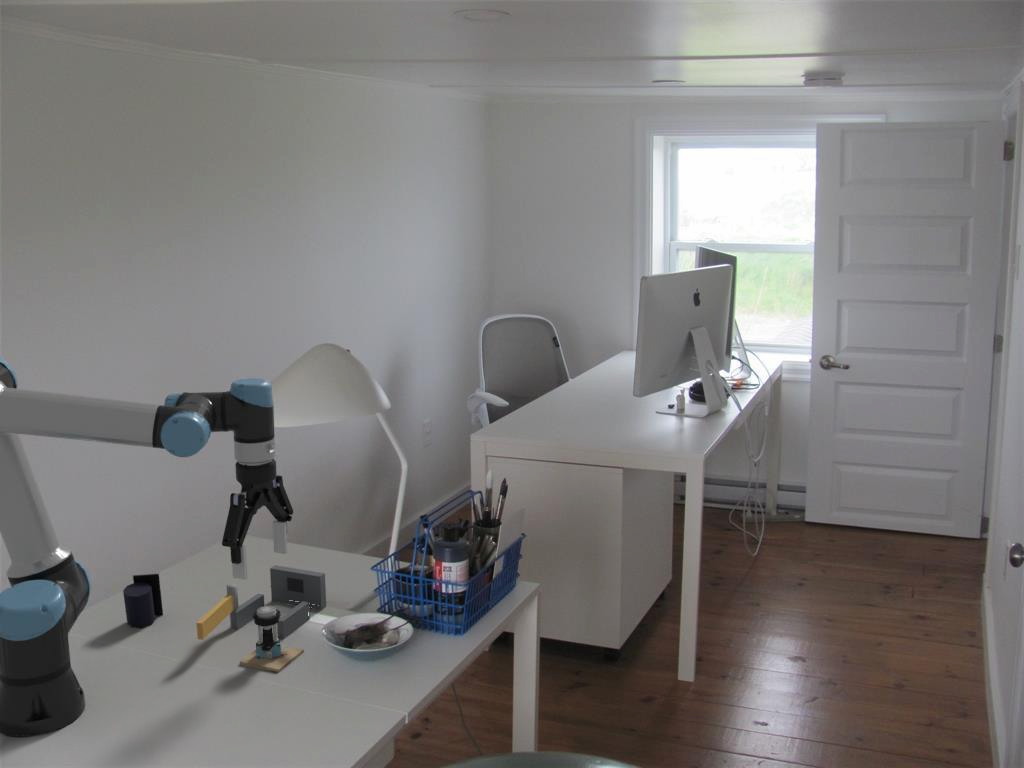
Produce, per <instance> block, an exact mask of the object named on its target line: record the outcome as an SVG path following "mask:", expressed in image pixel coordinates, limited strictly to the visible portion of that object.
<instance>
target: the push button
mask: <svg viewBox="0 0 1024 768" xmlns="http://www.w3.org/2000/svg"><path fill="white" fill-rule="evenodd" d="M279 618H281V611H280V610H279V609H277V608H276V607H275V606H273V605H264V606H263V607H260V608H258V609H257V611H256V612H255V613H254V614H253V621H254V622H253V623H254V624H255V626H257V631H258V633H257V634H258V640H257V642H255V650H256V654H257V659H263V658H267V659H269V658H272V657H278V656H281V653H283V652H287V651H289V649H286V650H287V651H286V650H281V648H286V647H285V646H287V647H290V646H289V644H286V645H283V646H281V645H282V644H281V642H280V638H278V633H277V623H278V622H279Z"/></svg>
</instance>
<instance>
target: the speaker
mask: <svg viewBox="0 0 1024 768" xmlns="http://www.w3.org/2000/svg"><path fill="white" fill-rule="evenodd" d="M132 579H133V583H130V584H128V585H127V586H125V588H124V589H123V590H122V594H123V600H124V608H125V616H126V623H127V625H128V626H129V627H130V628H133V629H134V628H135V629H142V628H143V629H144V628H146V627H149V626H151V625H153V623H154V622H155V621H156V617H157V616H163V615H164V610H163V600H162V591H161V581H160V573H150V574H149V573H148V574H136V575H132Z"/></svg>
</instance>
